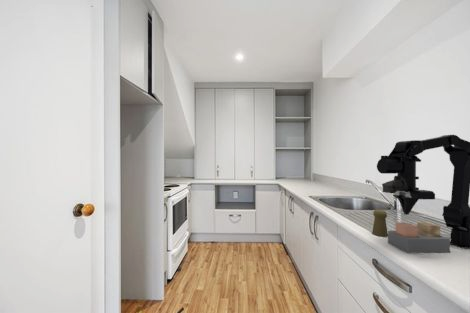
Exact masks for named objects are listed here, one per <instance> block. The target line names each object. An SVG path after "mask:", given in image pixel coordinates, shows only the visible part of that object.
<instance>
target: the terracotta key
mask: <svg viewBox="0 0 470 313" xmlns="http://www.w3.org/2000/svg"><path fill="white" fill-rule="evenodd" d="M395 231H396V234H398V235H400V236H403V237H417V231H418V226H417V225H416V224H413V223H410V222H407V221H406V222H402V221H401V222H395Z"/></svg>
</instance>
